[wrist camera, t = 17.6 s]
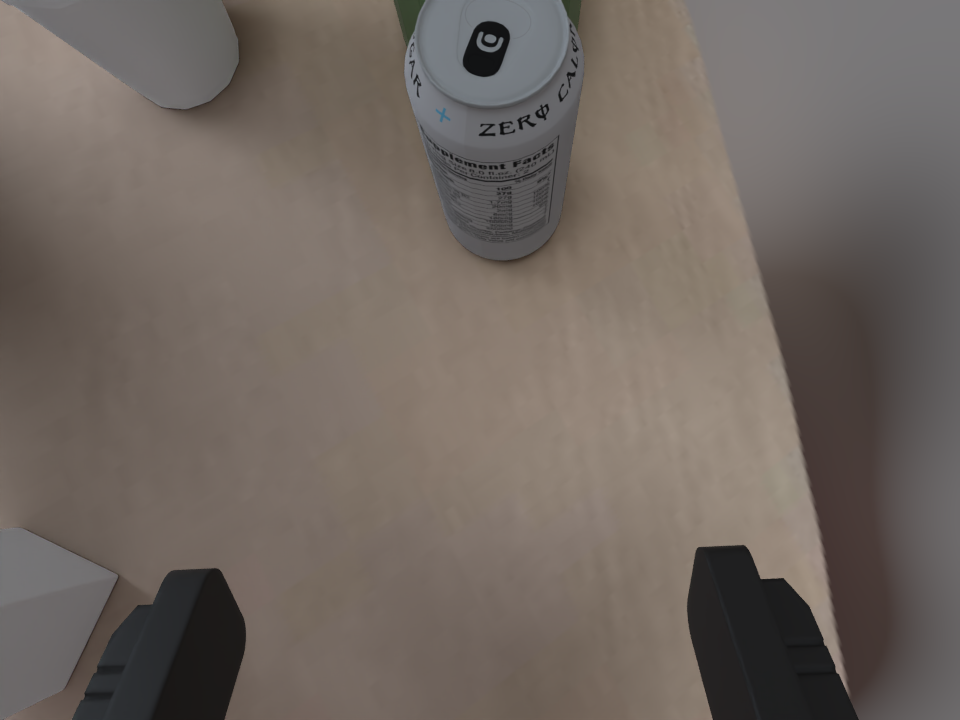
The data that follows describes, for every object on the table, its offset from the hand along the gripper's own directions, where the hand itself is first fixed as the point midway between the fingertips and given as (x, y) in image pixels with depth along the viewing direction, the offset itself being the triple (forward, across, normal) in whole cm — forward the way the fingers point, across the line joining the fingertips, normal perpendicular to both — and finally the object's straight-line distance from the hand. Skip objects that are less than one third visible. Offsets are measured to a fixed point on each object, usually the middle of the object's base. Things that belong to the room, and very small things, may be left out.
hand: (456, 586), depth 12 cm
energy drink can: (+27, -1, +5) cm, 27 cm away
